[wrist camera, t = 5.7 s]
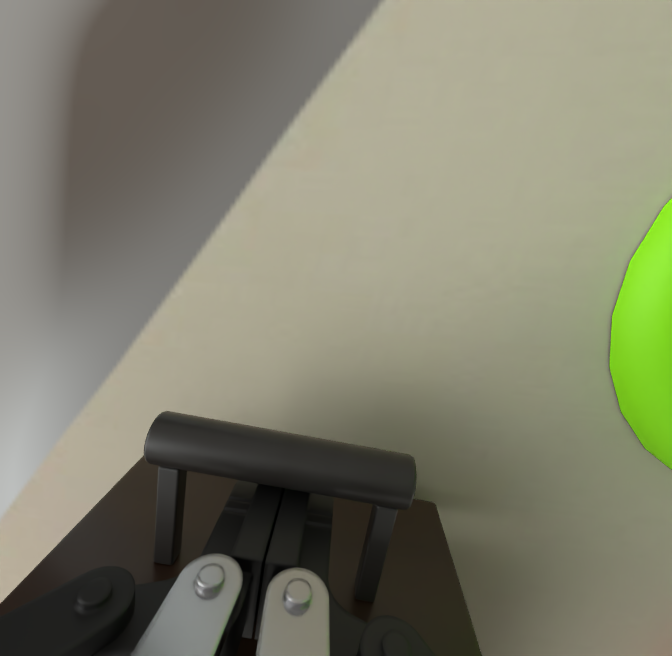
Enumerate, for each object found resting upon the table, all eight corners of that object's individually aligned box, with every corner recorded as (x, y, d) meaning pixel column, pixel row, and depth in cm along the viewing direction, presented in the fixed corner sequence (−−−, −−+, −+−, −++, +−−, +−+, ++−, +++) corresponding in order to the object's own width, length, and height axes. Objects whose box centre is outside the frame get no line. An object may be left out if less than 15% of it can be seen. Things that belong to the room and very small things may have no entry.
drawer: (152, 345, 14) (-55, 456, 7) (464, 401, 14) (579, 571, 7) (137, 675, 18) (4, 946, 11) (373, 719, 18) (385, 1018, 11)
